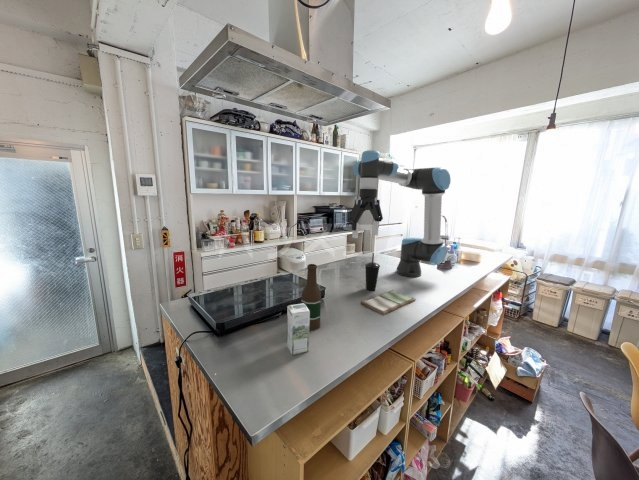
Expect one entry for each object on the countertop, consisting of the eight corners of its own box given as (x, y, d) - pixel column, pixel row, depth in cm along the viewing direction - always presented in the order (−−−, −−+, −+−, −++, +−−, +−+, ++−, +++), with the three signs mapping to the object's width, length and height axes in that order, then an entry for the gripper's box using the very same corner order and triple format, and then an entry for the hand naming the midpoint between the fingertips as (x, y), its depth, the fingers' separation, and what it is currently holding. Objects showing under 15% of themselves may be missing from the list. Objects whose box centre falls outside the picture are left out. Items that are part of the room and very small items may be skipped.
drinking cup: (374, 293, 127) (377, 255, 123) (360, 290, 132) (363, 253, 128) (380, 289, 133) (383, 252, 129) (367, 286, 138) (369, 250, 134)
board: (392, 292, 130) (392, 289, 130) (415, 300, 120) (415, 298, 120) (361, 303, 115) (361, 301, 115) (384, 315, 106) (384, 312, 105)
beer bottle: (298, 322, 98) (298, 262, 93) (316, 319, 101) (318, 261, 96) (303, 332, 91) (305, 268, 86) (323, 329, 93) (326, 267, 89)
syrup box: (303, 342, 85) (303, 302, 82) (309, 352, 80) (310, 309, 77) (286, 345, 83) (286, 304, 80) (291, 356, 78) (292, 312, 75)
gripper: (379, 189, 120) (376, 233, 124) (341, 187, 104) (339, 237, 108) (392, 189, 114) (389, 235, 118) (354, 187, 99) (352, 240, 103)
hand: (365, 236), depth 113 cm, fingers open, 13 cm apart
